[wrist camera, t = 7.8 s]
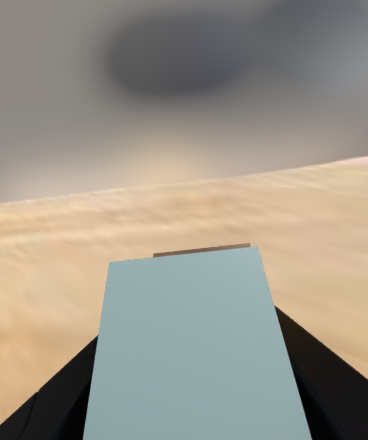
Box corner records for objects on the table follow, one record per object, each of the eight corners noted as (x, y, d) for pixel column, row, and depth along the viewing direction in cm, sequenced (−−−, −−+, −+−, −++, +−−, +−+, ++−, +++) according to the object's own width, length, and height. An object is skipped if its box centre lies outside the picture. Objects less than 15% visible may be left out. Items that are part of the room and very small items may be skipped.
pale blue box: (247, 401, 10) (467, 988, 1) (181, 402, 10) (21, 850, 2) (228, 289, 13) (257, 246, 4) (177, 293, 13) (109, 261, 5)
